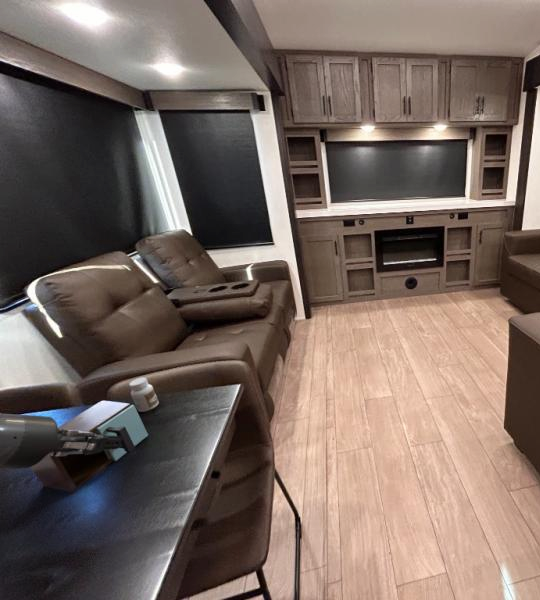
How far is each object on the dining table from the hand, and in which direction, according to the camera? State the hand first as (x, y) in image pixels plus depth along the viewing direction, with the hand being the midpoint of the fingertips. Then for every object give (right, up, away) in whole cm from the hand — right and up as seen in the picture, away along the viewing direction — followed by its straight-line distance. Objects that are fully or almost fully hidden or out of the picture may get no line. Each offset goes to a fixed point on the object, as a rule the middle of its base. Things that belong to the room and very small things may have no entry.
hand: (118, 442), depth 62 cm
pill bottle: (-9, 0, +19) cm, 22 cm away
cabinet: (-8, -5, +4) cm, 10 cm away
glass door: (0, -4, +6) cm, 7 cm away
